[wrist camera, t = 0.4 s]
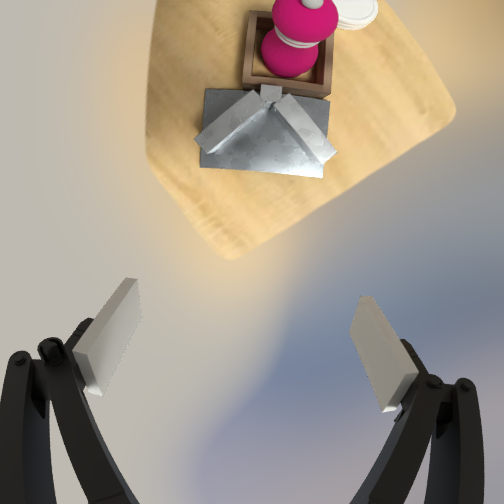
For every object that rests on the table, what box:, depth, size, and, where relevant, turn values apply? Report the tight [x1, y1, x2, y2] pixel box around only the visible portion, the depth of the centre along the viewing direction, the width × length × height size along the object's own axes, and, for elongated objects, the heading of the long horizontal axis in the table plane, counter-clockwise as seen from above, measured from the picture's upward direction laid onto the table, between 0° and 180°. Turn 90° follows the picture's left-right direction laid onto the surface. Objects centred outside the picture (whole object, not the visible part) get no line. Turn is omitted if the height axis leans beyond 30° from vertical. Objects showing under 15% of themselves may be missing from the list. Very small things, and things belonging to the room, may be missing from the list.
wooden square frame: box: [242, 10, 334, 99], centre depth 31 cm, size 11×11×5 cm
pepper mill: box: [261, 0, 339, 78], centre depth 24 cm, size 7×7×20 cm
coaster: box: [332, 0, 378, 30], centre depth 27 cm, size 10×10×4 cm
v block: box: [194, 84, 337, 178], centre depth 34 cm, size 17×11×7 cm, turn 85°
